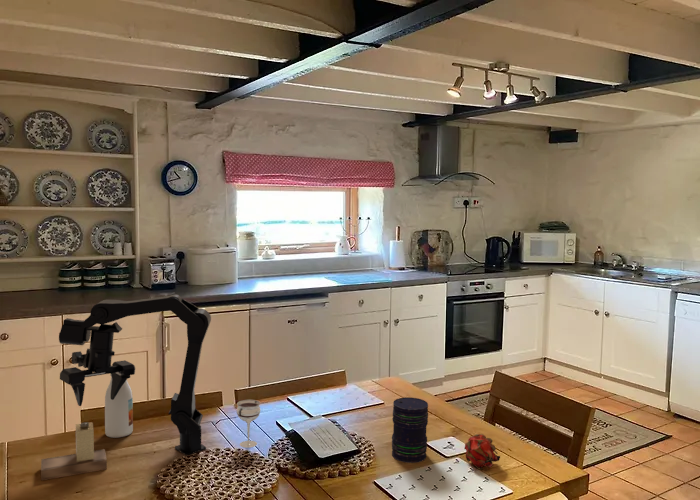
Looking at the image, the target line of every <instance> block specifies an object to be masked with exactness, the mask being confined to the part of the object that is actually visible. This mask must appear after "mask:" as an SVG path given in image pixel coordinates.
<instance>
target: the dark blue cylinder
mask: <svg viewBox="0 0 700 500" xmlns="http://www.w3.org/2000/svg"><path fill="white" fill-rule="evenodd" d="M392 405H393V406H392V407H393V409H392V423H393V429H392V430H393V431H392V436H391V449H392V451H391V456H392V458H394V459H395V460H396V461H399V462H402V463H407V464H414V463H420V462H423V461H424V460H426V459H427V449H428V436H427V427H428V423H429V419H428V418H429V403H428V401H426V400H424V399H421V398H418V397H405V396H404V397H399V398H396V399H394V400H393V403H392Z"/></svg>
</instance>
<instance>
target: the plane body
mask: <svg viewBox="0 0 700 500" xmlns="http://www.w3.org/2000/svg"><path fill="white" fill-rule="evenodd" d="M107 463H108V460H107V454H106V449H104V448H103V449H97V450H94V459H92V460H86V461H79V462H77V458H76V453H73V454H72V453H71V454H66V455H60V456H54V457H46V458H42V459H41V464H40V466H41V467H40V481H45V480H51V479H57V478H64V477H68V476H69V477H70V476H75V475H80V474H86V473H91V472H92V473H93V472H98V471H104V470H108V469H107V468H108V465H107Z"/></svg>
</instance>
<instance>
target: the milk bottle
mask: <svg viewBox="0 0 700 500" xmlns="http://www.w3.org/2000/svg"><path fill="white" fill-rule="evenodd" d="M109 376H110V381H109V384H108V387H107V389H106V390H105V394H104V395H105V396H104V429H105V430H104V433H105V435H106V436H107V437H109V438H112V439H113V438H114V439H115V438H116V439H117V438H124V437H126V436H129V435H131V434H132V433H133V430H134V409H133V408H134V406H133V405H134V404H133V403H134V402H133V401H134V400H133V391H132V388H131V386H130V384H129V382H128V379H127V380H126V381H125V383H124V384H123V385H122V387H121V388H120V390H119V392H118V393H117V395H116V397H115V398H114V400H112V399H111V385H112V376H111V373H110V375H109Z"/></svg>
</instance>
